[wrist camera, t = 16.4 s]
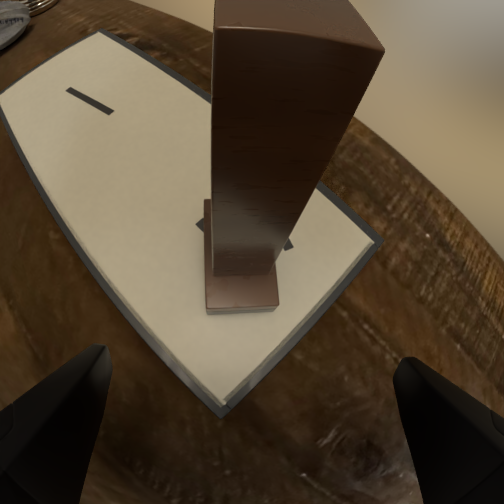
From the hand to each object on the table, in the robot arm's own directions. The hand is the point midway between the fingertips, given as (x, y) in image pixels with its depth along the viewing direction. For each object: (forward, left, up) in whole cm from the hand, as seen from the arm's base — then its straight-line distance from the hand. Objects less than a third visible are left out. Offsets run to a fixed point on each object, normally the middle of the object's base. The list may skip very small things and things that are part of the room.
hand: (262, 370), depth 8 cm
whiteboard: (+10, +15, -8) cm, 20 cm away
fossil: (+19, +49, -9) cm, 53 cm away
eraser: (+5, +3, -8) cm, 10 cm away
